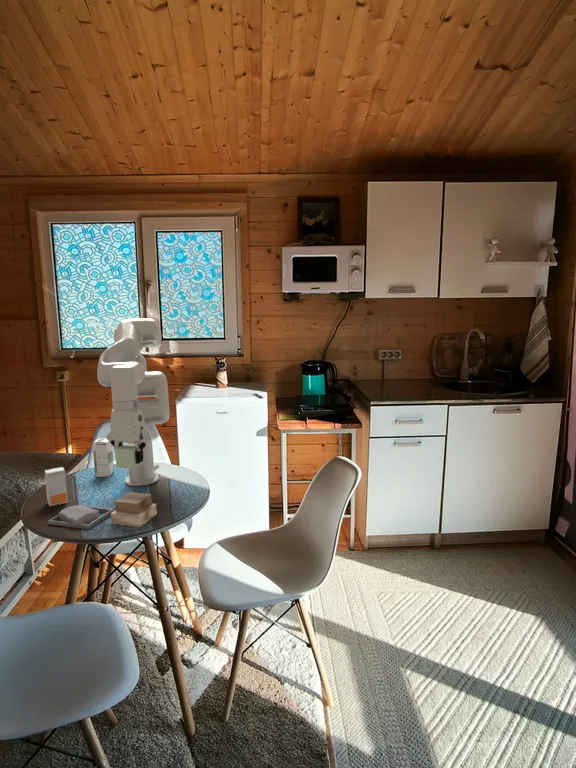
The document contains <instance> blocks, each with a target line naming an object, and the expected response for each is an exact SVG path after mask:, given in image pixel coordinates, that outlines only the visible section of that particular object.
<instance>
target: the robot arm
mask: <svg viewBox="0 0 576 768" xmlns="http://www.w3.org/2000/svg"><path fill="white" fill-rule="evenodd" d="M113 339H114V342H115V343H114V344H112V345H111V346H109V347H107V348H106V349H105V350H104V351H103V352H102V353H101V354H100V356H99V359H98V364H97V370H96V371H97V373H96V375H97V376H96V377H97V381H98V383H99V384H100V385H101V386H103V387H110V388H111V399H112V410H111V413H110V432H108V433H107V435H106V437H105V438H106V439H107V440H108V441H109V442H110V443H111V444H112V448H113V449H114V450H115V448H117V447H119V446H122V445H124V443H125V444H126V443H129V444H134V446H135V448H136V450H137V451H135V458H136V464H139V463H140V462H142V461H143V455H144V463H142V464H141V465H139V466H137V467H135V468H134V469H131V468H127V471H128V476H126V478H125V479H124V483H125V484H126V485H127V486H130V487H143V486H148V485H152V484H154V483H156V482H158V481H159V480H160V476H159V474H158V473H156V470H158V469H160V464H158V463H156V464H155V462H154V451H153V450H154V449H153V436H152V433H151V432H150V430H149V429H147V427H146V426H148V425H150V426H151V425H160V424H165V423H167V422H168V421H169V419H170V404H169V403H170V400H169V388H168V386H169V385H168V380H167V376H166V375H165V373H164V372H162V371H148V369H147V360H146V357H144V355H143V354H142V353H141V351H142V348H157V347H159V346H160V345H161V343H162V331H161V328H160V325H159V323H158V321H157V320H155V319H153V318H149V317H148V318H146V317H145V318H127V319H124V320H122V321H120V322H119V323H118V325H117V327H116V328H115V329H114V331H113ZM149 397H155V398H152V399H139V398H149Z"/></svg>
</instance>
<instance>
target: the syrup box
mask: <svg viewBox="0 0 576 768" xmlns="http://www.w3.org/2000/svg"><path fill="white" fill-rule="evenodd" d="M113 449H114V448H113V446H112V444H111V443H110V442H109V441H108V440H107V439H106V437H101V438H97V439H96V440H95V441H93V442H92V450H93V452H92V453H93V462H94V463H93V464H94V477H96V478H108V477H109V478H110V476H112V475H113V474H114V473H115V466H114V453H113V452H114V451H113Z"/></svg>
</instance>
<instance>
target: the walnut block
mask: <svg viewBox="0 0 576 768" xmlns="http://www.w3.org/2000/svg"><path fill="white" fill-rule="evenodd" d="M152 503H153V498H152V493H143V492H133V491H130V492H128V493H126V494H125V495H123V496H121V497H120V498H118V499H116V500H115V501H114V506H115V507H114V508H115V510H116V512H120V513H128V514H137V515H138V514H139V513H141V512H142V511H144V510H145V509H146V508H148V507H149V506H151V505H152Z"/></svg>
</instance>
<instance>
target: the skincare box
mask: <svg viewBox="0 0 576 768" xmlns="http://www.w3.org/2000/svg"><path fill="white" fill-rule="evenodd" d="M44 479H45V480H44V481H45V489H46V491H45V492H46V500H47V504H48V506H49V507H54V506H58V505H63V504H68V503H69V501H68V492H67V491H68V490H67V479H66V470H65V468H64V467H63V466H62V467H61V466H60V467H56V468H51V469H50V468H49V469H45V470H44ZM57 504H58V505H57Z"/></svg>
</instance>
